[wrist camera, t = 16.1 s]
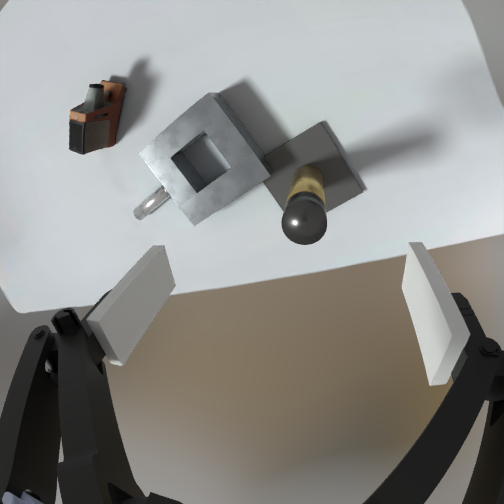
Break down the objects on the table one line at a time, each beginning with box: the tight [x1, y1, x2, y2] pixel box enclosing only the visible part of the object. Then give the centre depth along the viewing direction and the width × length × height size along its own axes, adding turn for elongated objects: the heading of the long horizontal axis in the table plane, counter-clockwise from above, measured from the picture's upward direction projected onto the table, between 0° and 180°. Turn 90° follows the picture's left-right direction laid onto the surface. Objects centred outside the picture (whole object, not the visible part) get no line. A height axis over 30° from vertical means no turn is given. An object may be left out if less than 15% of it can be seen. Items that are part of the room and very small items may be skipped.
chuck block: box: [133, 93, 274, 226], centre depth 37 cm, size 20×12×4 cm, turn 126°
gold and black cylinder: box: [282, 165, 327, 245], centre depth 29 cm, size 4×4×14 cm
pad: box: [263, 123, 363, 212], centre depth 35 cm, size 10×10×1 cm
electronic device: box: [69, 80, 126, 155], centre depth 33 cm, size 4×10×8 cm, turn 161°
